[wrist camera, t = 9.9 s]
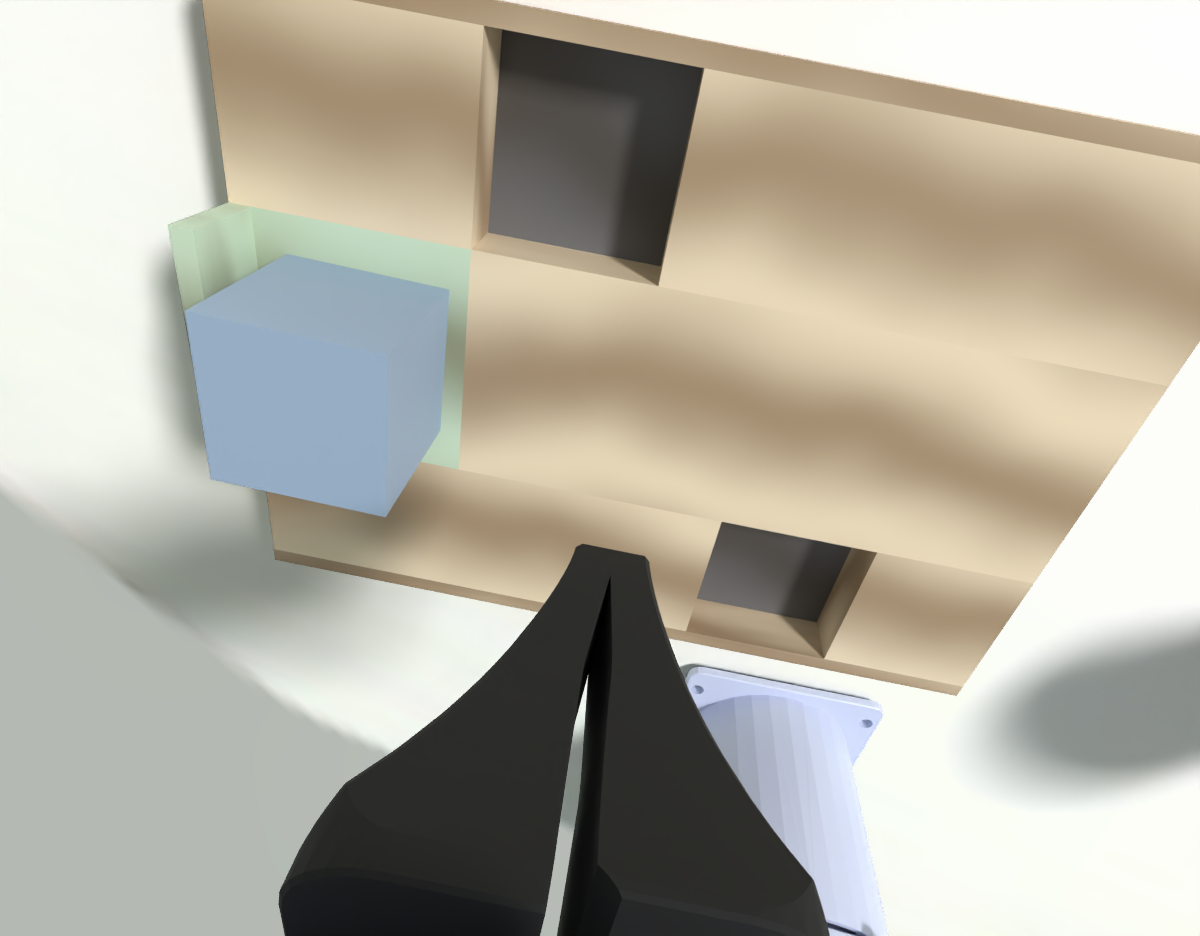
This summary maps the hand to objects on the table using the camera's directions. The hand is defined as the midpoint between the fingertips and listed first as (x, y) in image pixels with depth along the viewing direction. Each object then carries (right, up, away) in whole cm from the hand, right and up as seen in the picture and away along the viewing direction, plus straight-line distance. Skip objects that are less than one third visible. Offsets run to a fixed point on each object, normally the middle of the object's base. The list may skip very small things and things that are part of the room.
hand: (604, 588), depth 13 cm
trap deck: (+2, +5, +8) cm, 10 cm away
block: (-7, +6, +7) cm, 11 cm away
